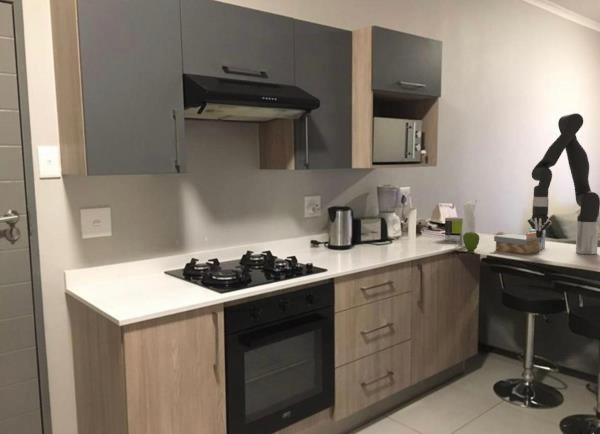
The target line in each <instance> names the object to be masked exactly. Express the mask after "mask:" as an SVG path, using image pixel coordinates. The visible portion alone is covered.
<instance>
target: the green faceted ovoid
mask: <svg viewBox="0 0 600 434" xmlns="http://www.w3.org/2000/svg"><path fill="white" fill-rule="evenodd" d="M463 243H464V244H465V247H464V248H465V249H466V251H467V252H470V253H473V252H474V251H475V250H476V249H477V248H478V245H479V243H480V236H479V234H478V233H477V232H475V233H474V232H466V233H465V234H464V235H463Z"/></svg>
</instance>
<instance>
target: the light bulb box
mask: <svg viewBox="0 0 600 434" xmlns="http://www.w3.org/2000/svg"><path fill="white" fill-rule="evenodd" d="M546 230H547V229H546ZM546 230H543V236H542V239H541V243H539V251H540V250H543V249H545V247H546V233H547V232H546ZM532 232H536V230H535V229H533V228H532V229H529V231H528V233H532Z"/></svg>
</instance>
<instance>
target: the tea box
mask: <svg viewBox="0 0 600 434" xmlns="http://www.w3.org/2000/svg"><path fill="white" fill-rule="evenodd" d="M462 222H463V216H447V217H445V218H444V240H445V241H450V242H451V241H453V242H454V241H455V242H460V232H461V225H462ZM462 236H463V234H462Z"/></svg>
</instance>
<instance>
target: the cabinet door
mask: <svg viewBox="0 0 600 434" xmlns="http://www.w3.org/2000/svg"><path fill="white" fill-rule="evenodd" d="M493 239H494V241H493V242H495V243H496V242H504V243H511V244H519V245H527V241H533V240H540V242H539V243H541V239H542V237H541V238H537V237H536V232H532V233H529V232H528V233H527V232H526V235H524V234H516V233H505V234H498V235H494V236H493Z"/></svg>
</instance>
